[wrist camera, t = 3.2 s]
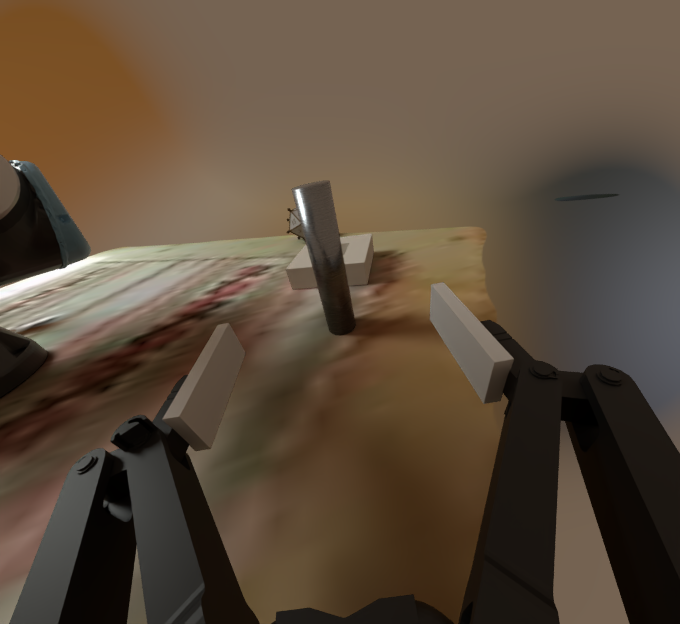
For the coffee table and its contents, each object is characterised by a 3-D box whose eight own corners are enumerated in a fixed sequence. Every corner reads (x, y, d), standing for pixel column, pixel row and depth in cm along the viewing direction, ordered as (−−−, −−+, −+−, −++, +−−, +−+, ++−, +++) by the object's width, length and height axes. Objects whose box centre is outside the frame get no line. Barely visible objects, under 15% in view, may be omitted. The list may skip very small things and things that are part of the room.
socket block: (292, 289, 38) (285, 269, 36) (313, 258, 48) (308, 240, 46) (367, 284, 35) (364, 262, 33) (373, 252, 45) (371, 233, 43)
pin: (325, 335, 27) (285, 191, 19) (331, 318, 30) (299, 184, 22) (353, 334, 27) (324, 185, 18) (357, 317, 29) (333, 178, 21)
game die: (309, 251, 63) (302, 214, 63) (333, 239, 57) (326, 199, 58) (281, 246, 56) (273, 205, 56) (305, 232, 50) (297, 186, 51)
